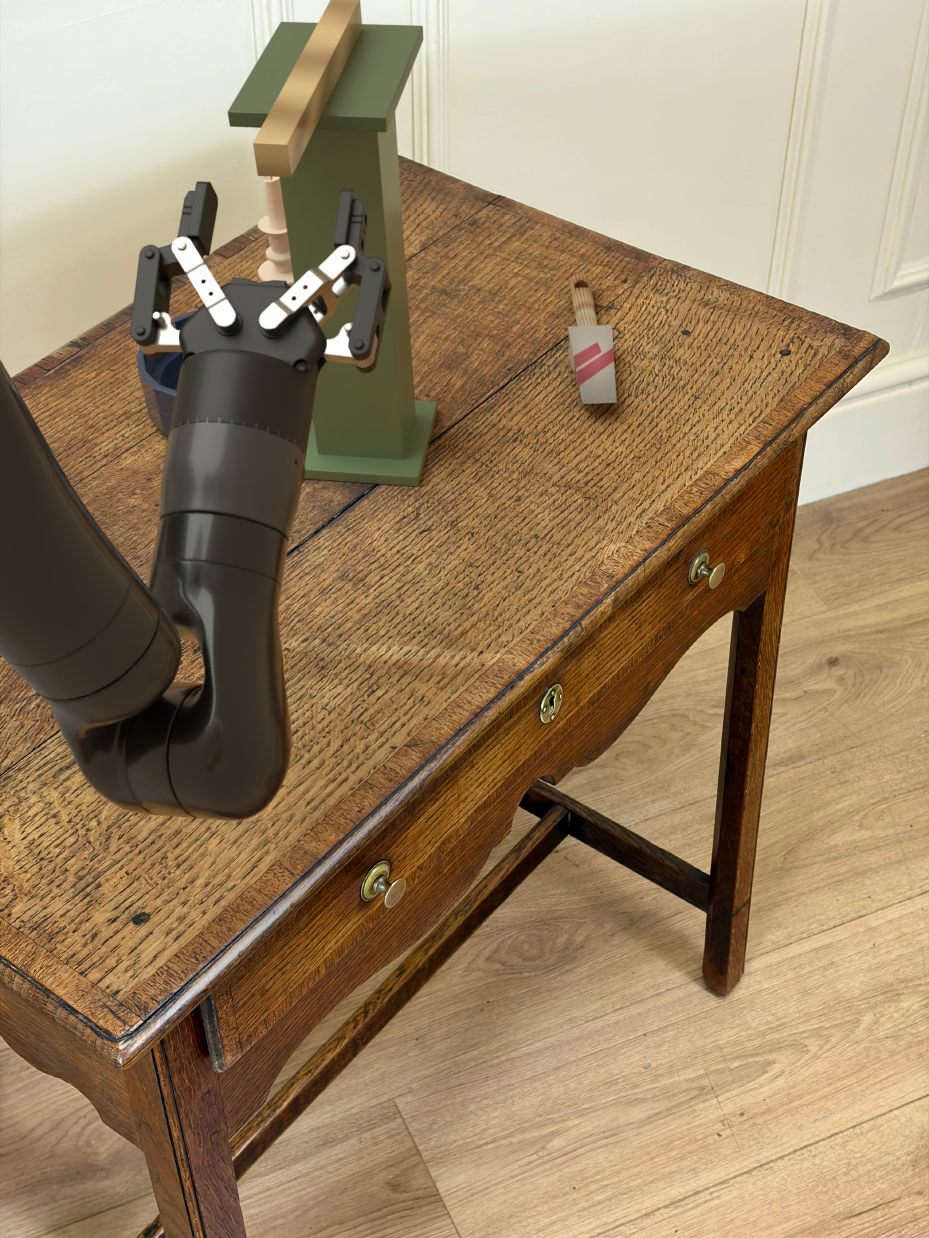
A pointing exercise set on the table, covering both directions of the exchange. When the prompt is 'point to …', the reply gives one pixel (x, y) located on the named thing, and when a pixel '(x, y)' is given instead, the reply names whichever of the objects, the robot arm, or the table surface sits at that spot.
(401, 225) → the stand
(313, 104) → the stick
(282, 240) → the candle
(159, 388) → the bowl
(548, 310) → the table surface
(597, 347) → the paintbrush
